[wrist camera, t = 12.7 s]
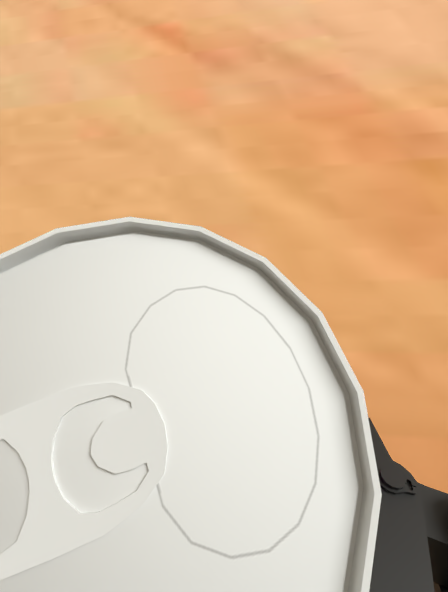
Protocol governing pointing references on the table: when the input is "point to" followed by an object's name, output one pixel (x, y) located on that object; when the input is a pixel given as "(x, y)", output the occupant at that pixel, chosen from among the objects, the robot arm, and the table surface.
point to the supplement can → (175, 421)
